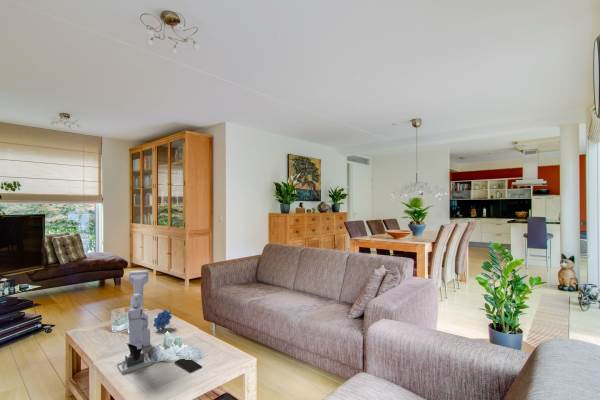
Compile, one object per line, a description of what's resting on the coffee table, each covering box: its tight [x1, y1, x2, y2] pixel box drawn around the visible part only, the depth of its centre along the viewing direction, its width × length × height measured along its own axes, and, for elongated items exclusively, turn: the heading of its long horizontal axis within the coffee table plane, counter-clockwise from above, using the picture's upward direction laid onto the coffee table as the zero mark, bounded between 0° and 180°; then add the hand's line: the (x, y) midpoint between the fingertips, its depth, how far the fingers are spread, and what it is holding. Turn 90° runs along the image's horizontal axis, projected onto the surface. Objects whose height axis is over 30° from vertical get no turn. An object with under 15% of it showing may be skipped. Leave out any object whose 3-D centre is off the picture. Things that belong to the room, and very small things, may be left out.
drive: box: [124, 350, 146, 368], centre depth 159 cm, size 8×4×5 cm, turn 133°
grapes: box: [153, 309, 173, 331], centre depth 205 cm, size 12×7×12 cm, turn 135°
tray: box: [116, 353, 153, 375], centre depth 159 cm, size 14×9×4 cm, turn 133°
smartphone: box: [173, 358, 203, 374], centre depth 160 cm, size 7×1×15 cm
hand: (135, 358), depth 159 cm, fingers open, 4 cm apart
